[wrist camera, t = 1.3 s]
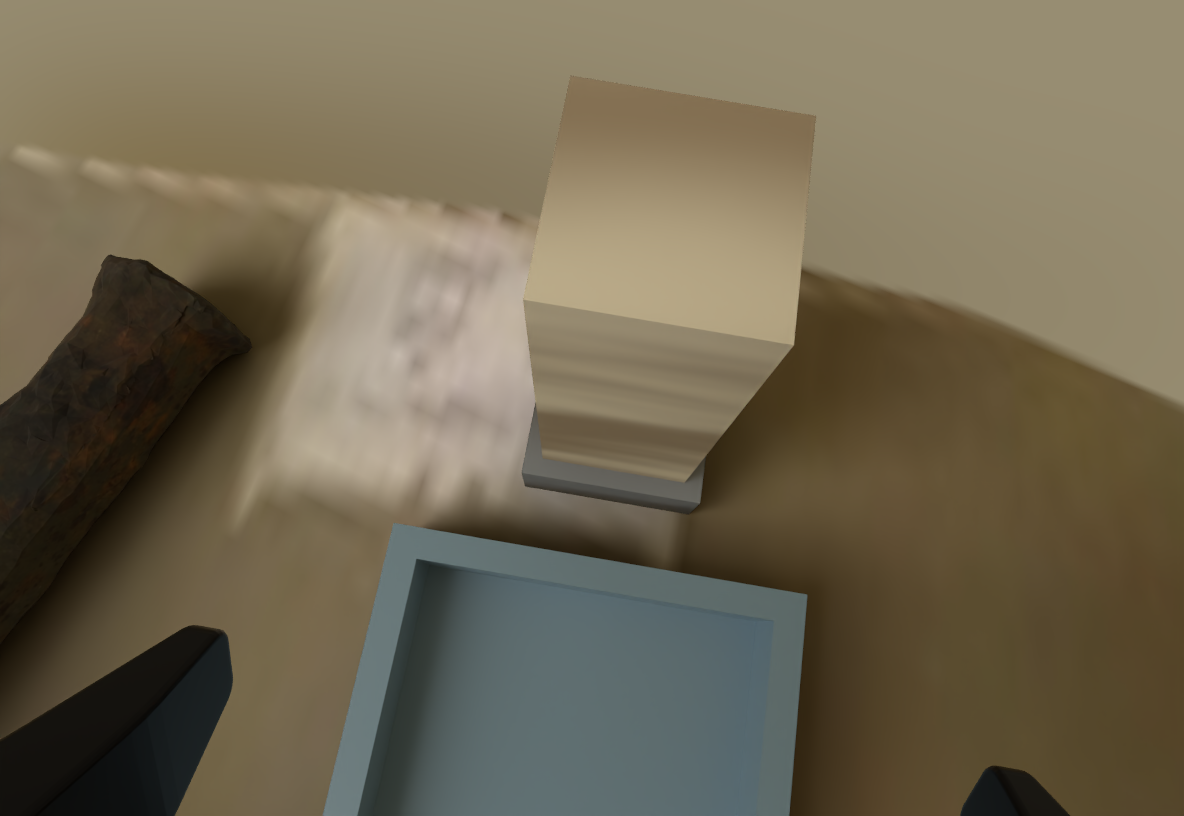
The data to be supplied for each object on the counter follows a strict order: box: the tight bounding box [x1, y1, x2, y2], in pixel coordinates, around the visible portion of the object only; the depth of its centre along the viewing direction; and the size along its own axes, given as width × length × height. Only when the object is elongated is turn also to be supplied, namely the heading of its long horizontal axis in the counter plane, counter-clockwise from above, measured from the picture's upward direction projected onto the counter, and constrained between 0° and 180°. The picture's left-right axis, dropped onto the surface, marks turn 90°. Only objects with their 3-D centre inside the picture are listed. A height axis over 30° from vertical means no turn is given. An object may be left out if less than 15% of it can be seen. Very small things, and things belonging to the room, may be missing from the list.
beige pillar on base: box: [522, 76, 816, 514], centre depth 18 cm, size 5×5×12 cm
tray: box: [323, 523, 807, 816], centre depth 20 cm, size 11×11×2 cm
